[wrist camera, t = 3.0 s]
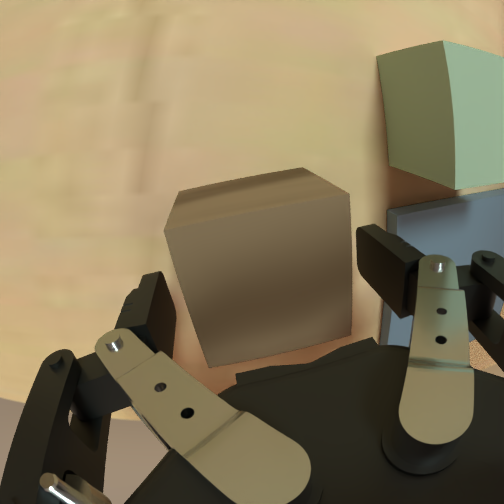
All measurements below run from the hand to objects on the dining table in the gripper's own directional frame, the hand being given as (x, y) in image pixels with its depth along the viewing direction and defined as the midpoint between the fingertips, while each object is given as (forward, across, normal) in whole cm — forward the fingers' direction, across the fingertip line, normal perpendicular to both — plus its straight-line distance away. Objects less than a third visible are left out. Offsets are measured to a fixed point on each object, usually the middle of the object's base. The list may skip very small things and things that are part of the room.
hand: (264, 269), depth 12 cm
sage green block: (+3, -10, -5) cm, 12 cm away
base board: (+2, -13, +6) cm, 14 cm away
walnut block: (+3, 0, 0) cm, 3 cm away
